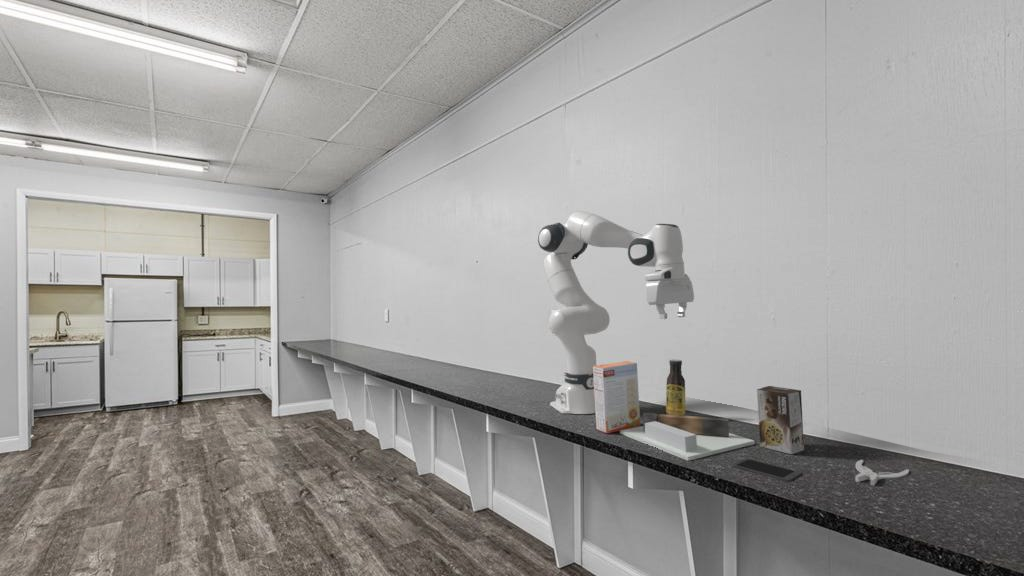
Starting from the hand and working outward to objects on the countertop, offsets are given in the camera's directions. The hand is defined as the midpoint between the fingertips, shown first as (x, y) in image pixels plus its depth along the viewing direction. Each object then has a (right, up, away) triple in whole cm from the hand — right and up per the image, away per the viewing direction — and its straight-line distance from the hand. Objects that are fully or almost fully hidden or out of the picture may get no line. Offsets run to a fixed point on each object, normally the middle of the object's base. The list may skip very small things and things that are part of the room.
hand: (672, 318), depth 152 cm
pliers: (+34, -34, -40) cm, 62 cm away
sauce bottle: (+6, -35, +14) cm, 38 cm away
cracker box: (-16, -36, +4) cm, 40 cm away
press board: (0, -35, -9) cm, 36 cm away
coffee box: (+23, -35, -20) cm, 46 cm away
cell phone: (+11, -35, -35) cm, 51 cm away
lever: (+1, -34, -7) cm, 34 cm away
